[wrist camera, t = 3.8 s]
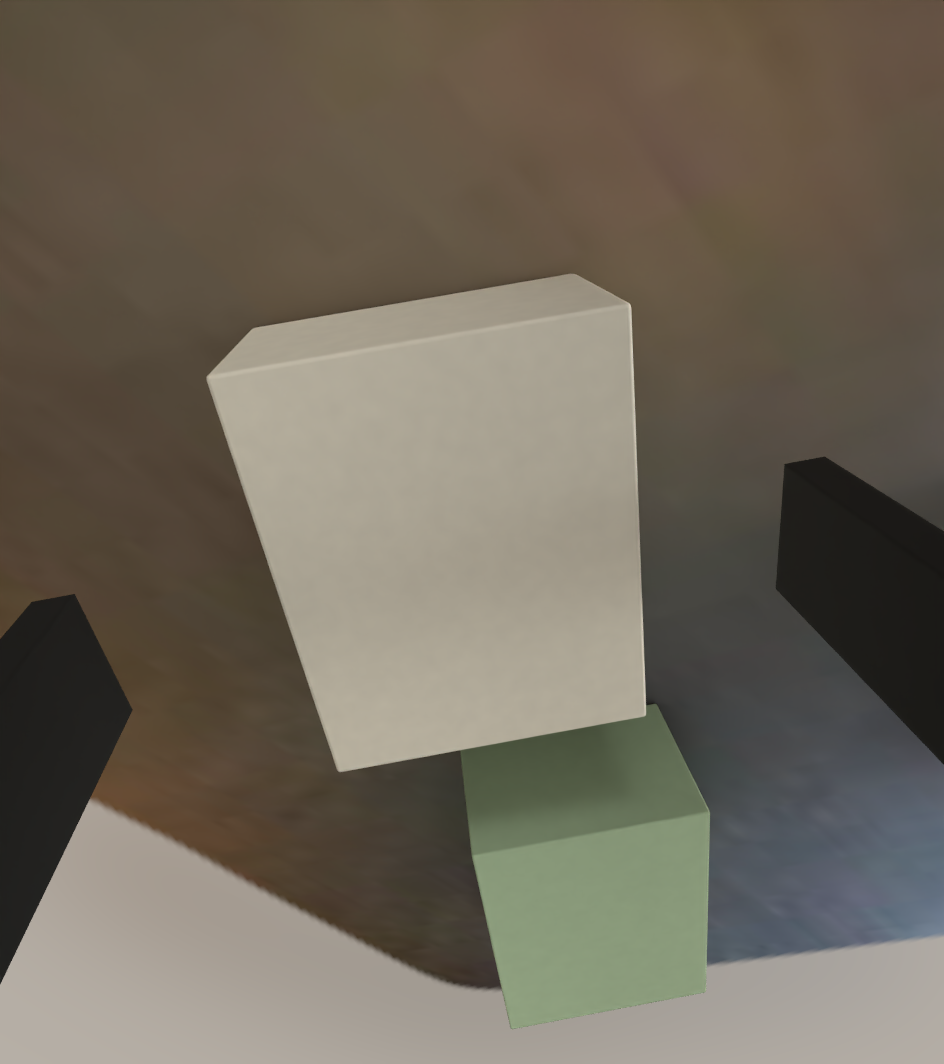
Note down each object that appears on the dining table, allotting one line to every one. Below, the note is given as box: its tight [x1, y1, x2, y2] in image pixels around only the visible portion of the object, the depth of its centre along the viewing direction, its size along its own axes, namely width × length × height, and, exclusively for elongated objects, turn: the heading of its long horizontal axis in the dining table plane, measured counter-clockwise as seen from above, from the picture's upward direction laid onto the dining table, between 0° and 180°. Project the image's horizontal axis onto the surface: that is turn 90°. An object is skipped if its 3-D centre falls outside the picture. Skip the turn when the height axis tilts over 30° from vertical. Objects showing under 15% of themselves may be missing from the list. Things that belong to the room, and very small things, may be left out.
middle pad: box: [207, 273, 646, 772], centre depth 15 cm, size 9×7×4 cm
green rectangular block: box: [460, 704, 710, 1029], centre depth 21 cm, size 8×6×4 cm
